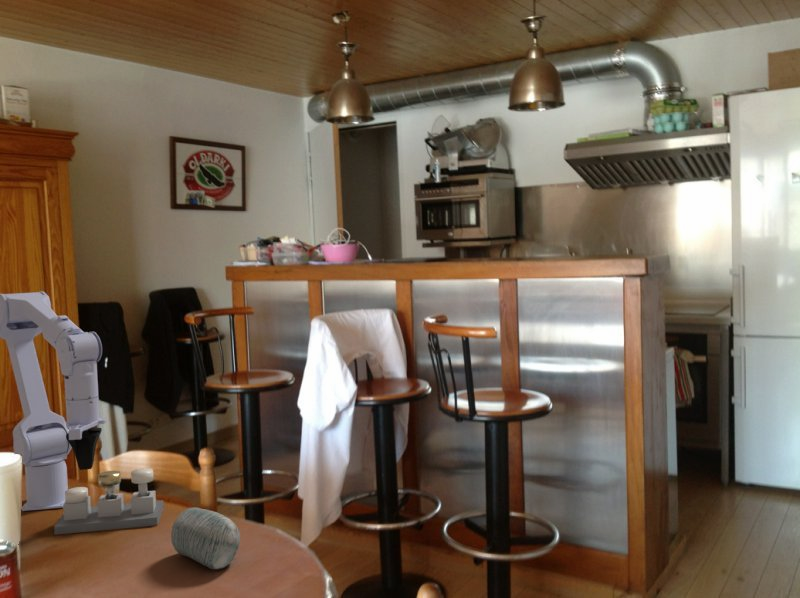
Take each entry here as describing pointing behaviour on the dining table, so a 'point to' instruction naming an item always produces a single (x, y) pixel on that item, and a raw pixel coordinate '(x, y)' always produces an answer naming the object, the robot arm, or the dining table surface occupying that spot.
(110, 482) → the brass knob
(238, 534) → the spool
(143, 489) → the ivory knob
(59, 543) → the dining table surface
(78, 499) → the ivory knob
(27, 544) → the dining table surface
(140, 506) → the mount
